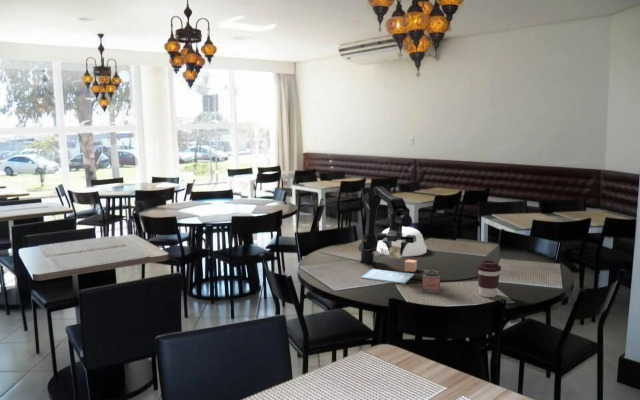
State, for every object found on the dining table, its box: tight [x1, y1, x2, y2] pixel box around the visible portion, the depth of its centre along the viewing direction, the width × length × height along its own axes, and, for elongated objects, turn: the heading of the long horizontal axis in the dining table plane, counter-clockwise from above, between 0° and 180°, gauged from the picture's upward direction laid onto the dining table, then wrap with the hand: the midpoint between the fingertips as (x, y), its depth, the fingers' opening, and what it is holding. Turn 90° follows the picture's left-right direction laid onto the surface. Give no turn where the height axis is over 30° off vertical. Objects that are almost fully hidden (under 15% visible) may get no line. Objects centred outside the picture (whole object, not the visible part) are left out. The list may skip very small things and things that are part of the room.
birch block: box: [388, 246, 403, 260], centre depth 256 cm, size 5×5×5 cm
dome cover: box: [376, 226, 428, 257], centre depth 312 cm, size 32×30×14 cm
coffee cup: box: [476, 259, 502, 298], centre depth 229 cm, size 10×10×15 cm
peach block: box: [404, 259, 418, 273], centre depth 270 cm, size 5×5×5 cm
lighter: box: [421, 269, 442, 294], centre depth 235 cm, size 8×3×10 cm, turn 71°
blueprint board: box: [360, 268, 415, 285], centre depth 259 cm, size 22×16×1 cm
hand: (395, 255), depth 256 cm, fingers closed on birch block, 5 cm apart
